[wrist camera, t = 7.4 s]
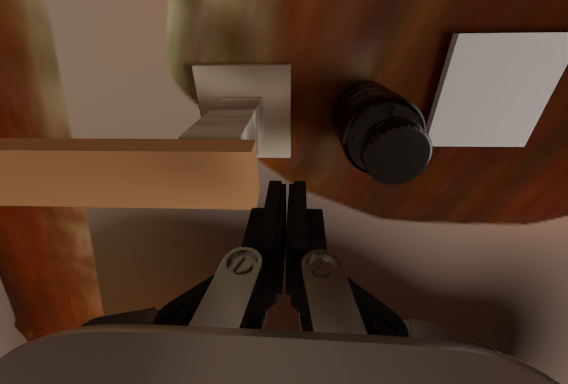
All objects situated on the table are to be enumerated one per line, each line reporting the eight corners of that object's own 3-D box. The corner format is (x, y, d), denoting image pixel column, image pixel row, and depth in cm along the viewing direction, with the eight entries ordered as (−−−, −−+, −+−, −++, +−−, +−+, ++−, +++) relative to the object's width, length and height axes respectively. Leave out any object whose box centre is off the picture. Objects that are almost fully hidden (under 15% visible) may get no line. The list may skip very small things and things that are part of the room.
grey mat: (453, 33, 24) (458, 33, 23) (573, 32, 24) (584, 32, 23) (421, 143, 30) (425, 146, 29) (517, 143, 30) (524, 146, 29)
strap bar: (-100, 137, 17) (-145, 149, 15) (255, 139, 16) (251, 152, 14) (-57, 188, 19) (-92, 203, 17) (259, 193, 18) (256, 209, 16)
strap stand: (195, 64, 27) (117, 88, 15) (290, 63, 26) (286, 87, 15) (211, 153, 32) (162, 221, 20) (290, 153, 31) (286, 223, 20)
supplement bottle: (326, 139, 30) (341, 192, 20) (337, 77, 27) (362, 103, 16) (383, 144, 30) (427, 200, 20) (401, 83, 27) (466, 113, 17)
